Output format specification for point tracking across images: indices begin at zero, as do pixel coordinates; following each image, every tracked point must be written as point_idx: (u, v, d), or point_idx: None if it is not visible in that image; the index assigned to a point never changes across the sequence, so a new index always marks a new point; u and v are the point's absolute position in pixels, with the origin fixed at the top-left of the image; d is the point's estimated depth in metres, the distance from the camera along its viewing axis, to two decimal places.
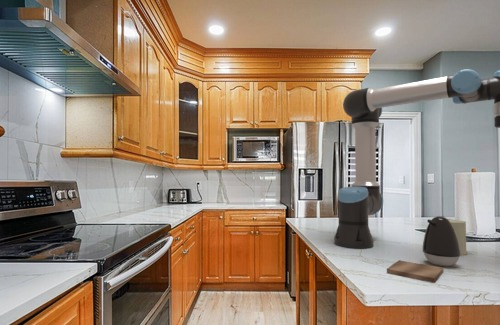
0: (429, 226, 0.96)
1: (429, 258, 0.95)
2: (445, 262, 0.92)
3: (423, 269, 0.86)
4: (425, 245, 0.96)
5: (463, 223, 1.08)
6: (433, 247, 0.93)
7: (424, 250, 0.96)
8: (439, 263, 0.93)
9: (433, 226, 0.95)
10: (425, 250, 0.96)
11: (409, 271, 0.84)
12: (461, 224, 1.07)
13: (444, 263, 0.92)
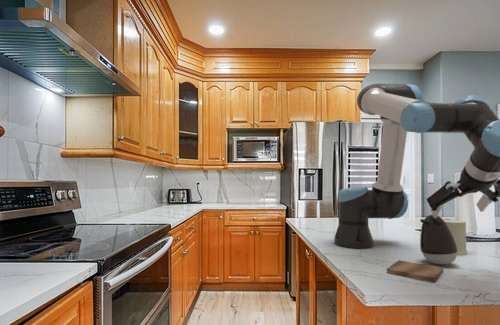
0: (423, 226, 0.97)
1: (428, 258, 0.95)
2: (444, 260, 0.92)
3: (423, 269, 0.86)
4: (422, 245, 0.96)
5: (463, 223, 1.08)
6: (430, 246, 0.94)
7: (422, 250, 0.96)
8: (438, 261, 0.93)
9: (427, 225, 0.96)
10: (423, 250, 0.96)
11: (409, 271, 0.84)
12: (461, 224, 1.07)
13: (443, 261, 0.92)
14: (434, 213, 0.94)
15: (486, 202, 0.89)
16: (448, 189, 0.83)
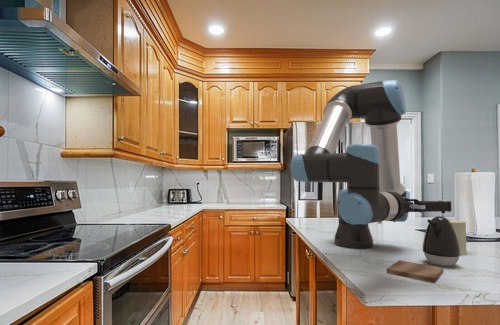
0: (429, 226, 0.96)
1: (429, 258, 0.95)
2: (445, 262, 0.92)
3: (423, 269, 0.86)
4: (425, 245, 0.96)
5: (463, 223, 1.08)
6: (433, 247, 0.93)
7: (424, 250, 0.96)
8: (439, 263, 0.93)
9: (433, 226, 0.95)
10: (425, 250, 0.96)
11: (409, 271, 0.84)
12: (461, 224, 1.07)
13: (444, 263, 0.92)
14: None
15: None
16: None
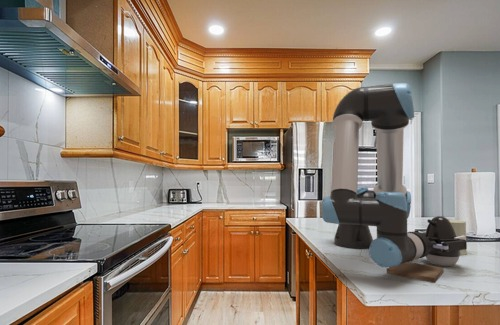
0: (429, 226, 0.96)
1: (429, 258, 0.95)
2: (445, 262, 0.92)
3: (423, 269, 0.86)
4: None
5: (463, 223, 1.08)
6: None
7: None
8: (439, 263, 0.93)
9: (433, 226, 0.95)
10: None
11: (409, 271, 0.84)
12: (461, 224, 1.07)
13: (444, 263, 0.92)
14: None
15: None
16: None
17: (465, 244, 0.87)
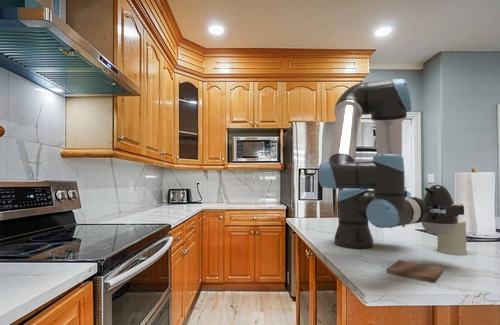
0: (426, 195, 0.96)
1: (426, 226, 0.94)
2: (443, 229, 0.91)
3: (423, 269, 0.86)
4: None
5: (463, 223, 1.08)
6: None
7: None
8: (437, 231, 0.92)
9: (430, 194, 0.94)
10: None
11: (409, 271, 0.84)
12: (461, 224, 1.07)
13: (442, 231, 0.91)
14: None
15: None
16: None
17: (462, 209, 0.86)
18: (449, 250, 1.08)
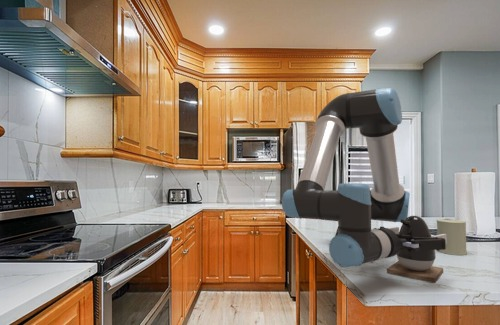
0: (402, 226, 0.88)
1: (402, 262, 0.86)
2: (418, 267, 0.83)
3: None
4: None
5: (463, 223, 1.08)
6: (405, 250, 0.84)
7: (397, 253, 0.88)
8: (412, 267, 0.84)
9: (406, 227, 0.86)
10: (398, 253, 0.87)
11: (409, 271, 0.84)
12: (461, 224, 1.07)
13: (417, 268, 0.83)
14: None
15: None
16: None
17: (444, 243, 0.77)
18: (449, 250, 1.08)
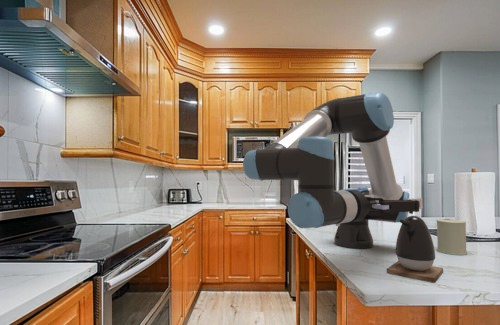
0: (402, 227, 0.88)
1: (402, 262, 0.86)
2: (418, 267, 0.83)
3: None
4: (397, 247, 0.87)
5: (463, 223, 1.08)
6: (405, 250, 0.84)
7: (396, 253, 0.88)
8: (412, 267, 0.84)
9: (406, 227, 0.86)
10: (397, 253, 0.87)
11: (409, 271, 0.84)
12: (461, 224, 1.07)
13: (417, 268, 0.83)
14: None
15: None
16: None
17: (417, 205, 0.69)
18: (449, 250, 1.08)
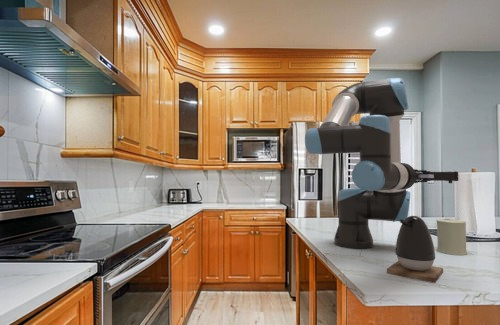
0: (402, 227, 0.88)
1: (402, 262, 0.86)
2: (418, 267, 0.83)
3: None
4: (397, 247, 0.87)
5: (463, 223, 1.08)
6: (405, 250, 0.84)
7: (396, 253, 0.88)
8: (412, 267, 0.84)
9: (406, 227, 0.86)
10: (397, 253, 0.87)
11: (409, 271, 0.84)
12: (461, 224, 1.07)
13: (417, 268, 0.83)
14: None
15: None
16: None
17: (457, 175, 0.83)
18: (449, 250, 1.08)
